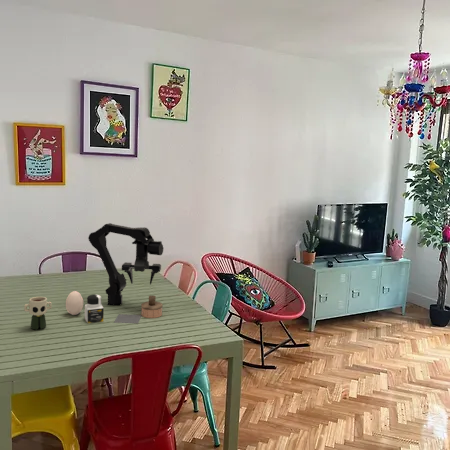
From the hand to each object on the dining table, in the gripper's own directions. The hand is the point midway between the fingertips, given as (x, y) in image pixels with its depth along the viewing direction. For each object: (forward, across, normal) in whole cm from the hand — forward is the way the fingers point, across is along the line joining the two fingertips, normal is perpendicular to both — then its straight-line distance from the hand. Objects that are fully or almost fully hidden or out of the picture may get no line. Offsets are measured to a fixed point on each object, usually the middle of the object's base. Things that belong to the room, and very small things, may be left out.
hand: (141, 283), depth 227 cm
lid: (+8, +7, -10) cm, 15 cm away
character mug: (+13, -39, -31) cm, 51 cm away
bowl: (+12, +7, -10) cm, 17 cm away
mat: (+12, -3, -17) cm, 21 cm away
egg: (+13, -29, -13) cm, 34 cm away
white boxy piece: (+13, -18, -20) cm, 30 cm away
